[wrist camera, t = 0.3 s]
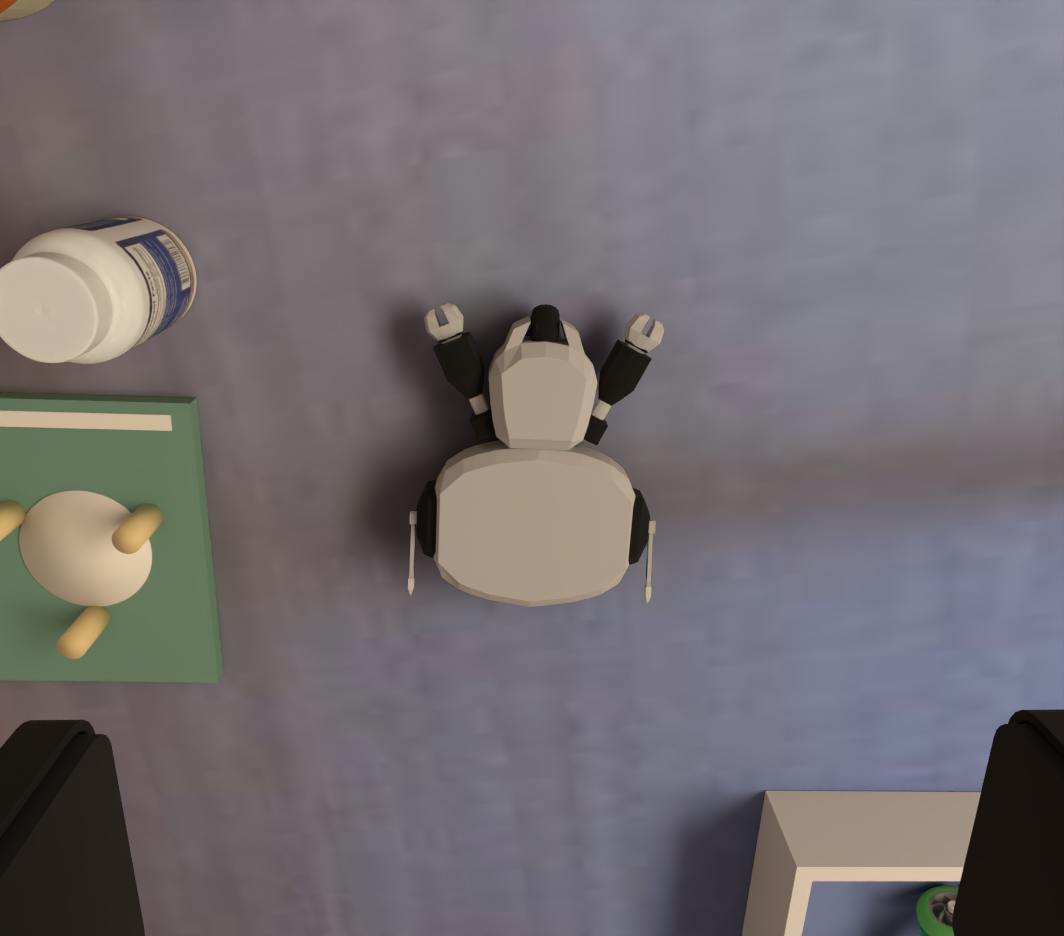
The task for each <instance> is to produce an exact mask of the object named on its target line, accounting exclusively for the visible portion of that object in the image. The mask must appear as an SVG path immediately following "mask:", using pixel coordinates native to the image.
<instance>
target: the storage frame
mask: <svg viewBox="0 0 1064 936" xmlns="http://www.w3.org/2000/svg"><path fill="white" fill-rule="evenodd" d="M980 795H981V792H892V791H765V797H764V803H763V809H762V815H761V822H760V828H759V834H758V840H757V846H756V852H755V858H754V864H753V870H752V876H751V882H750V888H749V894H748V900H747V906H746V913H745V919H744V925H743V931H742V936H802V931H803V925H804V920H805V915H806V910H807V905H808V900H809V895H810V890H811V885H812V881H960V880H961V876H962V872H963V867H964V863H965V859H966V854H967V850H968V846H969V842H970V837H971V833H972V829H973V825H974V820H975V816H976V812H977V807H978V803H979V799H980Z"/></svg>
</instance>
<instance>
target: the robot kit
mask: <svg viewBox="0 0 1064 936" xmlns="http://www.w3.org/2000/svg"><path fill="white" fill-rule="evenodd" d="M958 889H959V888H958V887H954V886H938V887H934V888H931V889H929V890H927V891H926V892H924V893H923V894H922V895H921V897H920V898H919V900H918V903H917V908H916V913H917V918H918V921H919V931H920V934H921V936H954V932H953V925H952V917H953V910H954V906H955V901H956V897H957V893H958Z"/></svg>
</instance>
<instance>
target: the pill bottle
mask: <svg viewBox="0 0 1064 936" xmlns="http://www.w3.org/2000/svg"><path fill="white" fill-rule="evenodd" d="M196 283H197V282H196V271H195V267H194V264H193V261H192V258H191V256H190V254H189V252H188V251H187V249H186V247H185V246H184V244H183V243H182V242H181V240H180V239H179V238H178V237H177V236H176V235H175V234H174V233H172V232H171V231H170V230H168V229H167V228H165V227H164V226H162V225H160V224H158V223H156V222H153V221H151V220H148V219H144V218H140V217H132V216H126V217H115V218H109V219H105V220H100V221H96V222H91V223H86V224H81V225H76V226H71V227H65V228H61V229H55V230H52V231H49V232H46V233H43V234H41V235H39V236H37V237H35V238H33V239H31V240H30V241H29V242H27V243H26V244H25V245H24V246H23V247H22V248H21V249H20V250H19V251H18V252H17V254H16V255H15V256H14V258H13V260H12V261H11V262H9V263H7V264H6V265H5V266H3V267H2V268H1V269H0V337H1V338H2V339H3V340H4V341H5V342H6V343H7V344H8V345H9V346H10V347H11V348H13V349H14V350H15V351H17V352H18V353H20V354H21V355H23V356H25V357H27V358H30V359H32V360H35V361H39V362H44V363H60V362H66V361H68V362H73V363H80V364H93V363H100V362H105V361H108V360H111V359H113V358H116V357H118V356H121V355H123V354H124V353H126V352H128V351H129V350H131V349H132V348H134V347H136V346H137V345H139V344H141V343H143V342H144V341H146V340H148V339H150V338H151V337H153V336H155V335H157V334H158V333H160V332H162V331H163V330H165V329H167V328H168V327H170V326H171V325H173V324H174V323H176V322H177V321H178V320H179V319H181V318H182V317H183V316H184V315H185V313H186V312H187V311H188V309H189V308H190V306H191V304H192V302H193V299H194V296H195V292H196Z"/></svg>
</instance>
